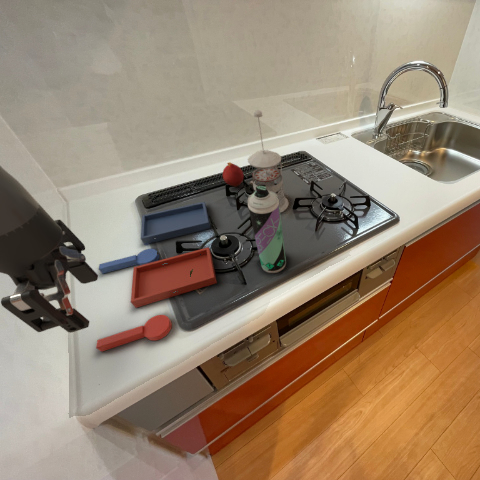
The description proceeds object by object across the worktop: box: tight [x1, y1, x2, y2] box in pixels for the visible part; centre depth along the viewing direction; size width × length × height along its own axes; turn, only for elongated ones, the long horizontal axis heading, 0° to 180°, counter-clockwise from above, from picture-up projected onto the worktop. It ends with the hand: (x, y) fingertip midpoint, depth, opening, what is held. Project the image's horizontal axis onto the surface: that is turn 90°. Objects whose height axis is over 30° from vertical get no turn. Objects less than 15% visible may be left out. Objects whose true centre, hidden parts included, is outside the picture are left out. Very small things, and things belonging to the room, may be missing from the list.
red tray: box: [130, 247, 218, 309], centre depth 56 cm, size 15×9×2 cm, turn 113°
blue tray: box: [140, 201, 212, 246], centre depth 68 cm, size 15×9×2 cm, turn 113°
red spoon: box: [95, 314, 173, 353], centre depth 47 cm, size 11×4×2 cm, turn 113°
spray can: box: [247, 185, 287, 274], centre depth 53 cm, size 6×6×20 cm
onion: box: [222, 161, 245, 188], centre depth 79 cm, size 6×6×8 cm
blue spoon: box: [98, 248, 160, 275], centre depth 59 cm, size 11×4×2 cm, turn 113°
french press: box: [247, 109, 290, 214], centre depth 68 cm, size 10×12×25 cm
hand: (86, 302), depth 39 cm, fingers open, 8 cm apart
